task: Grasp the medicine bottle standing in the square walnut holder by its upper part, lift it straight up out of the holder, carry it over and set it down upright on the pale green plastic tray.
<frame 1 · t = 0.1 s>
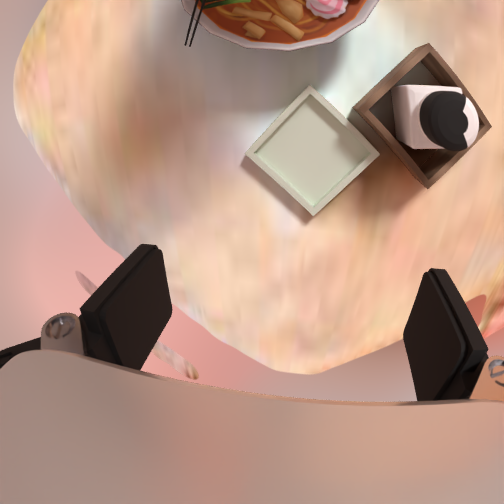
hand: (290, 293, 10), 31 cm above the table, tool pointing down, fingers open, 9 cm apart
tray: (312, 149, 37), on the table
medicine bottle: (417, 112, 32), resting in holder
holder: (418, 113, 32), on the table
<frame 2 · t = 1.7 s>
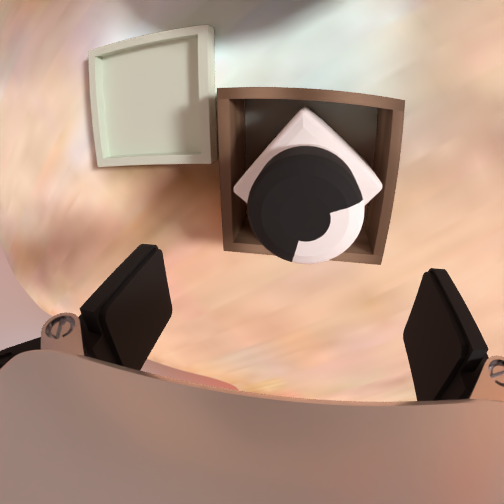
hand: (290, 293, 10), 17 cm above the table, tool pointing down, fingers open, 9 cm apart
tray: (152, 98, 24), on the table
medicine bottle: (309, 162, 25), resting in holder
holder: (309, 163, 25), on the table
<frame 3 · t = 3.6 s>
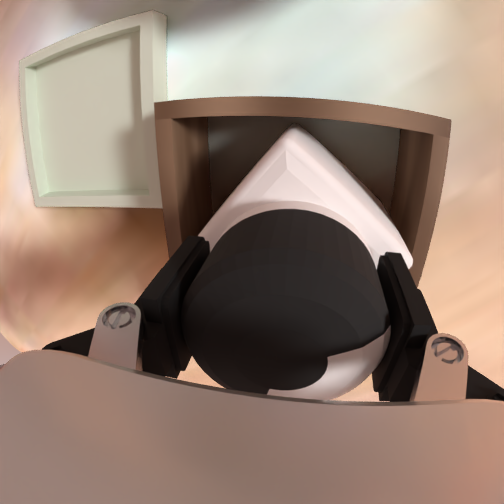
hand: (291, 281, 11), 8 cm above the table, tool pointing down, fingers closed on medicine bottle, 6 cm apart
tray: (91, 117, 17), on the table
medicine bottle: (300, 203, 18), resting in holder, touching gripper
holder: (300, 204, 18), on the table
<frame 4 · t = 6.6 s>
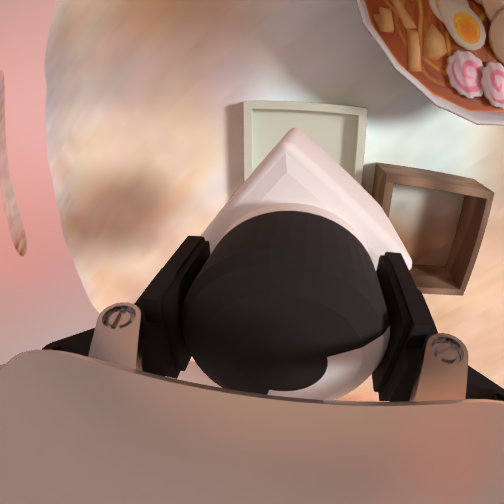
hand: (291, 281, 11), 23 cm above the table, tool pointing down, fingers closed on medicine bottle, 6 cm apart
tray: (304, 158, 31), on the table
ramen bowl: (442, 21, 20), on the table
medicine bottle: (300, 207, 18), point 15 cm above the table, touching gripper
holder: (419, 222, 32), on the table
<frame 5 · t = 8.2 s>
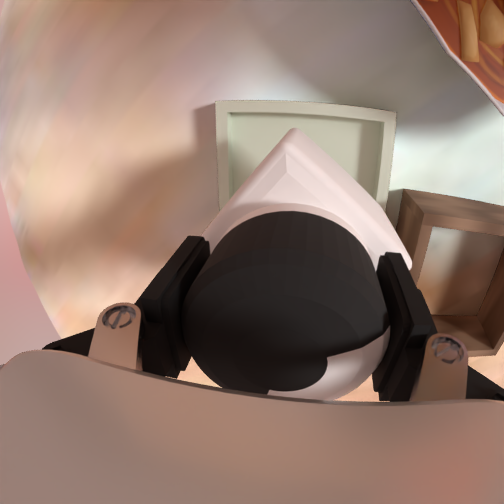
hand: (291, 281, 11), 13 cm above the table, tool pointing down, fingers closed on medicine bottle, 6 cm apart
tray: (303, 182, 22), on the table
ramen bowl: (487, 0, 11), on the table
medicine bottle: (300, 207, 18), point 5 cm above the table, touching gripper
holder: (452, 266, 23), on the table
when the fingers open (10 cm above the table, at t = 9.8 s): medicine bottle stays where it is, resting on tray.
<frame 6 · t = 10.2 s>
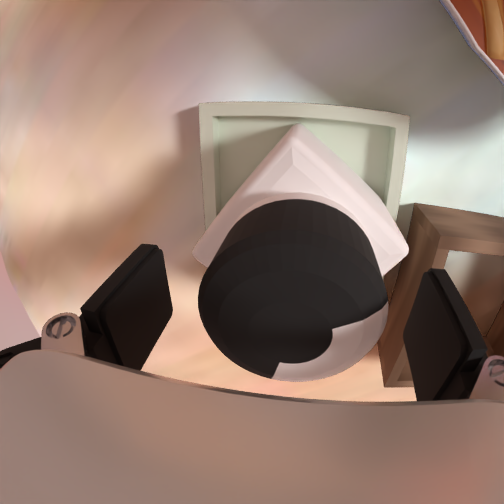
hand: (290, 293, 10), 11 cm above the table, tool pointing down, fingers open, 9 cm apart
tray: (301, 195, 20), on the table
medicine bottle: (303, 199, 19), resting on tray
holder: (463, 286, 20), on the table
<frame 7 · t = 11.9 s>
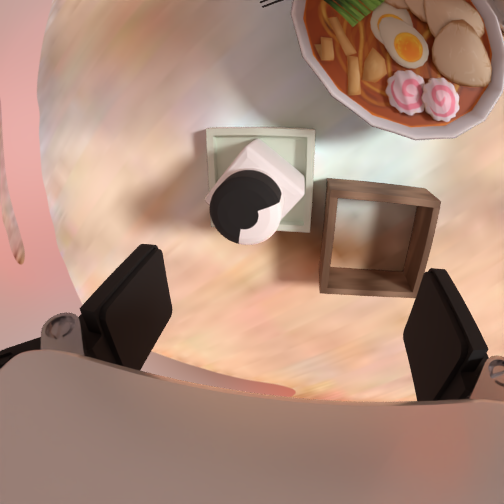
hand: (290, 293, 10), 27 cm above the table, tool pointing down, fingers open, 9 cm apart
tray: (261, 177, 36), on the table
ramen bowl: (392, 39, 25), on the table
medicine bottle: (262, 178, 35), resting on tray
holder: (372, 231, 36), on the table
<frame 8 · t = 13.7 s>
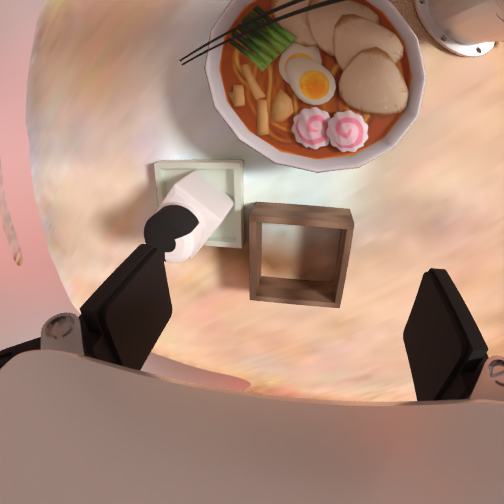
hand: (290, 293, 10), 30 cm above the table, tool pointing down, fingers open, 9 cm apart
tray: (201, 201, 43), on the table
ramen bowl: (315, 71, 32), on the table
medicine bottle: (201, 202, 42), resting on tray
holder: (300, 247, 43), on the table
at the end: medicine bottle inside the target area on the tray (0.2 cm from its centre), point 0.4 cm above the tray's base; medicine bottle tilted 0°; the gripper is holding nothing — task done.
